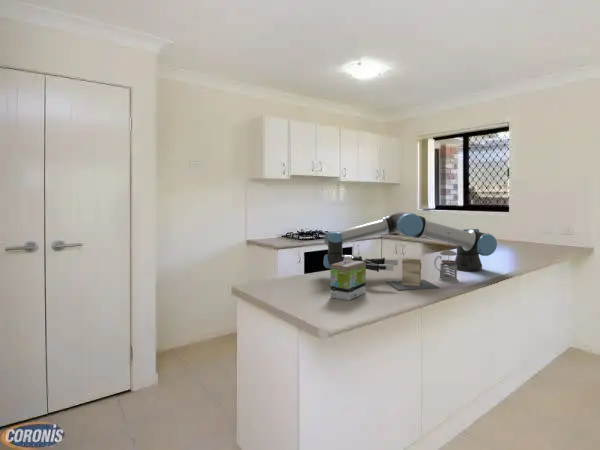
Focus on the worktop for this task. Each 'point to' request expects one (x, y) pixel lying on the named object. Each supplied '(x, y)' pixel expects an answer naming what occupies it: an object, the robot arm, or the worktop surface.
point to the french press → (451, 266)
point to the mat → (423, 285)
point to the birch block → (411, 272)
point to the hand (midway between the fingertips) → (395, 265)
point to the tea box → (348, 279)
